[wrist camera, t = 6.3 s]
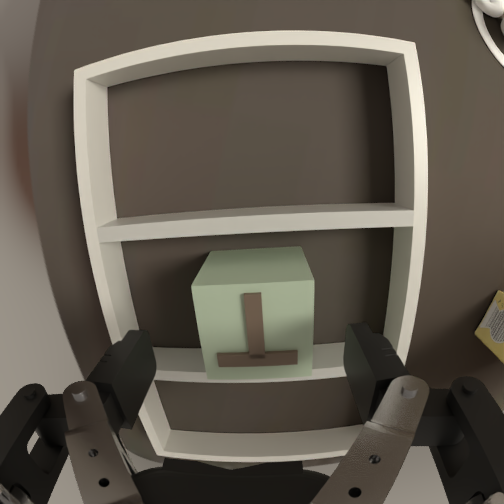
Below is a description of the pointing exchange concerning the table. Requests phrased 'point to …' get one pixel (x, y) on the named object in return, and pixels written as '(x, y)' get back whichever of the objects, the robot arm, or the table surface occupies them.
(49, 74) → the table surface
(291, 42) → the organizer
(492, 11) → the teacup and saucer
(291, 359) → the letter cube
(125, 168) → the table surface
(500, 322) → the candy box
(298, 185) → the table surface
